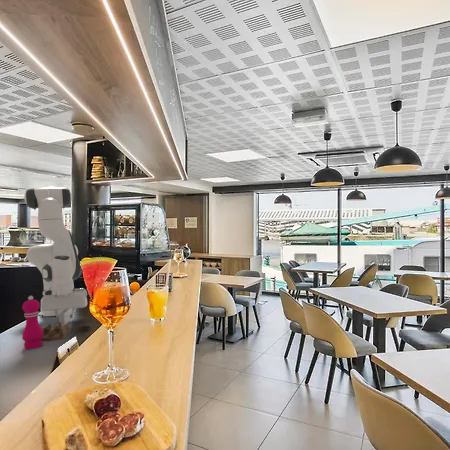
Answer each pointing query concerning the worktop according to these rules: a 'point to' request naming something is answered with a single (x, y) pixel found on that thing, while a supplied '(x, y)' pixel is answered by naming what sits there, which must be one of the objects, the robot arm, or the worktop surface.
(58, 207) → the robot arm
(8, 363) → the worktop surface
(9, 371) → the worktop surface
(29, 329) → the pepper mill
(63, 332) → the walnut rack
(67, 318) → the clay strip
